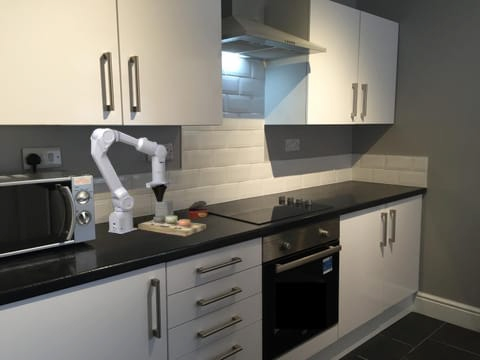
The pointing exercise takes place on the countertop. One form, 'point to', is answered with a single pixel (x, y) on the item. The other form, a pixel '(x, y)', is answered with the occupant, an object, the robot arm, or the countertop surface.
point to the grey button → (159, 219)
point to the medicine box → (164, 208)
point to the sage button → (171, 219)
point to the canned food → (197, 210)
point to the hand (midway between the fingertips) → (159, 201)
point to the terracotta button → (184, 222)
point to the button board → (172, 228)
